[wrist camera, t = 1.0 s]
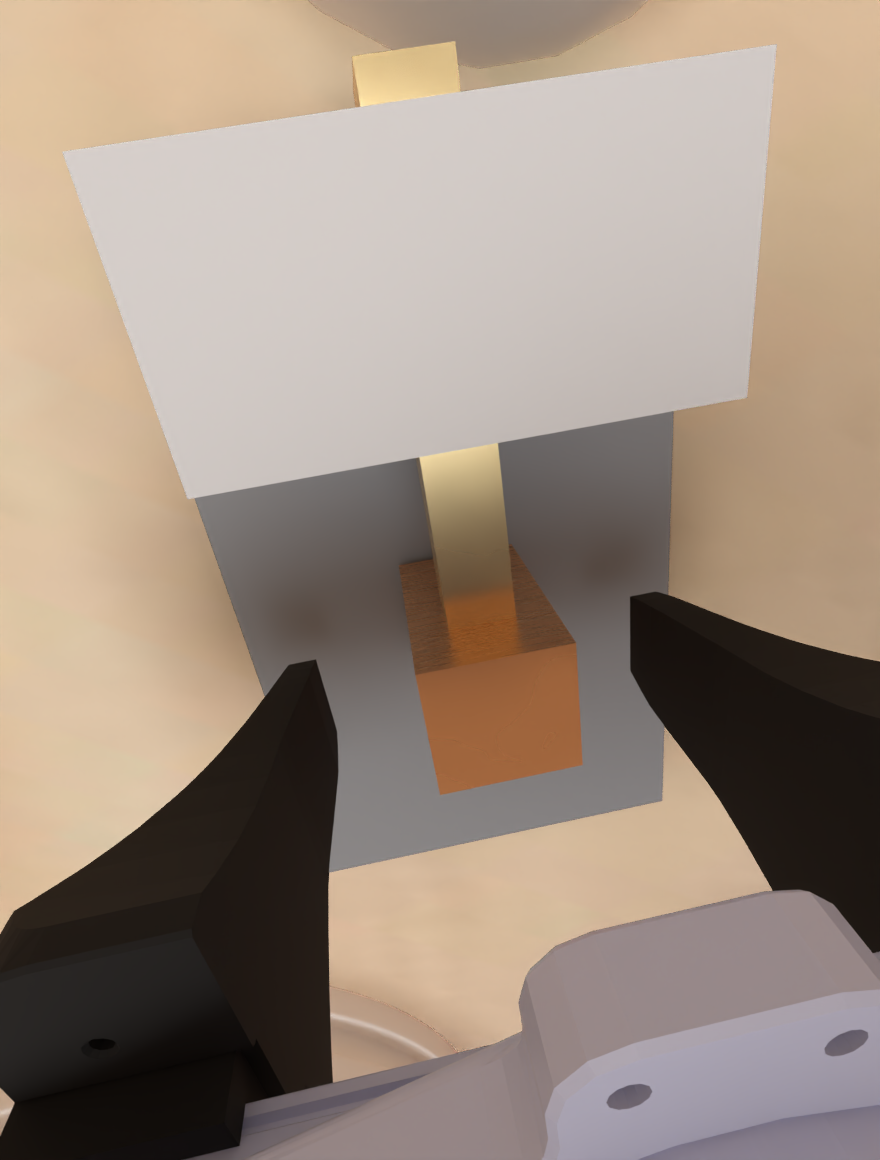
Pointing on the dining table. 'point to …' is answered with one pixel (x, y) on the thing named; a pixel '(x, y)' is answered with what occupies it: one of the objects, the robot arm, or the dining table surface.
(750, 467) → the dining table surface
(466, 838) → the block
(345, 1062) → the plate stack
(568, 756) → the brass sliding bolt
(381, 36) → the honey pot
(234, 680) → the dining table surface
